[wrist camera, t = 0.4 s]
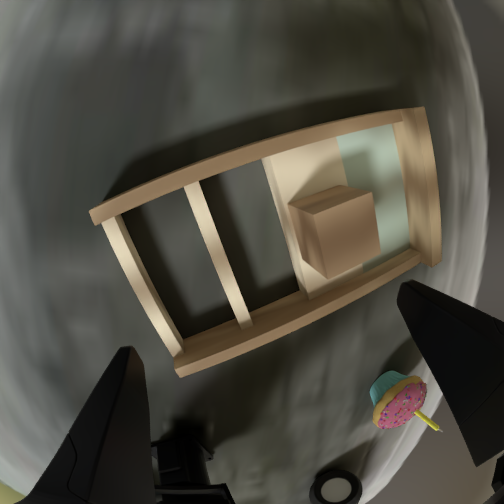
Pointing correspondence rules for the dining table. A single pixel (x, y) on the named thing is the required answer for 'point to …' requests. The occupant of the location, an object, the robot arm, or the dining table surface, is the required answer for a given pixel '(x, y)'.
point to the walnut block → (336, 229)
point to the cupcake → (398, 400)
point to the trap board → (286, 191)
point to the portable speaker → (336, 488)
